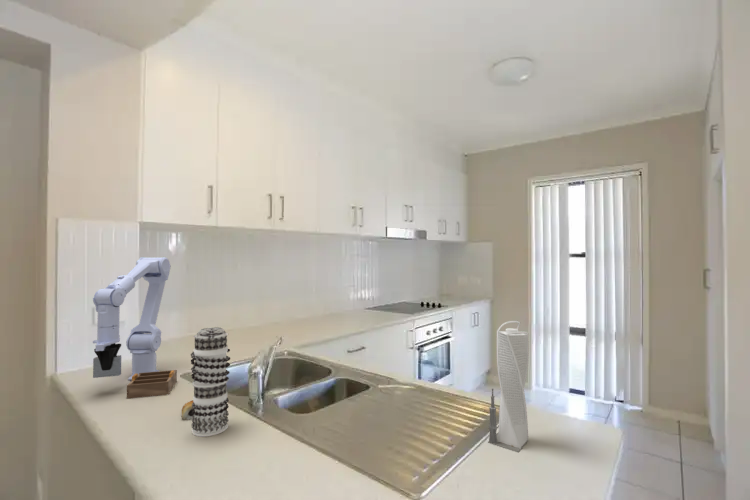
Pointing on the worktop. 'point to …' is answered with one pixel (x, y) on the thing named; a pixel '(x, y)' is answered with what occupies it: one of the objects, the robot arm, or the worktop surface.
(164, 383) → the rack
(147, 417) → the worktop surface
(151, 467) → the worktop surface
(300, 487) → the worktop surface
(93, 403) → the worktop surface
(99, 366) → the panel
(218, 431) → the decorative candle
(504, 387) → the skyscraper
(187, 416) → the pastry
